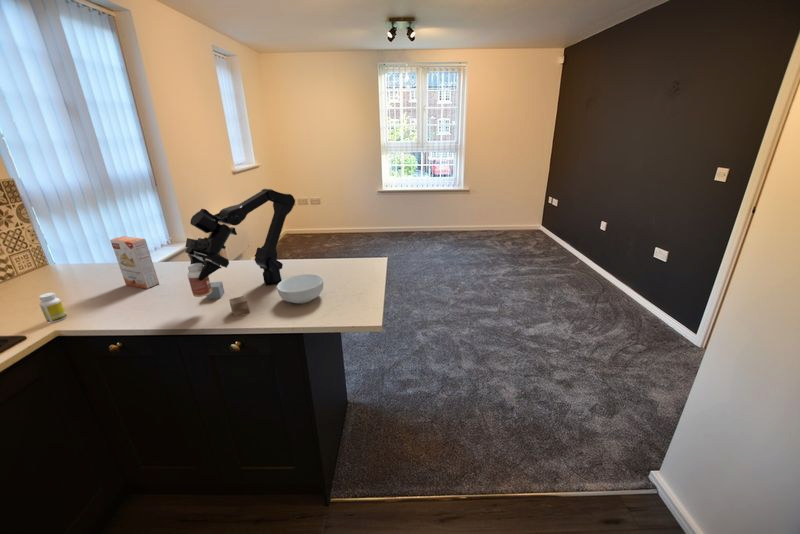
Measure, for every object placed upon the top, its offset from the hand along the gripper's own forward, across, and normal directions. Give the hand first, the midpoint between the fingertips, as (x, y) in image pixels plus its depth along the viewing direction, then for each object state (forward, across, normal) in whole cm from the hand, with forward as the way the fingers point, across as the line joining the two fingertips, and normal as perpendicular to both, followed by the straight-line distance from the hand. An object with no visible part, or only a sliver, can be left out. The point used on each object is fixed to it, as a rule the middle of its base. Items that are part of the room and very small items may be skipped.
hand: (194, 278), depth 124 cm
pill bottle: (+4, 0, +6) cm, 7 cm away
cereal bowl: (-8, +24, +28) cm, 38 cm away
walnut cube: (+5, +12, +14) cm, 19 cm away
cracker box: (+10, -49, +9) cm, 51 cm away
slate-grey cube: (+2, -9, +17) cm, 19 cm away
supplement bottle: (+31, -42, -12) cm, 53 cm away
